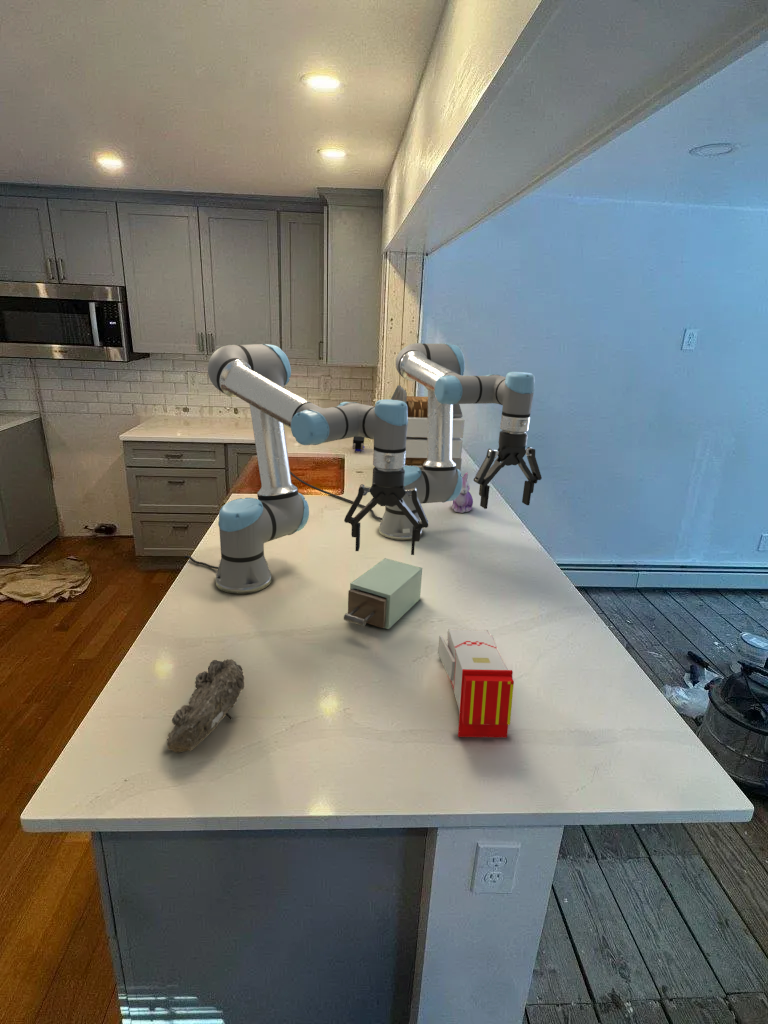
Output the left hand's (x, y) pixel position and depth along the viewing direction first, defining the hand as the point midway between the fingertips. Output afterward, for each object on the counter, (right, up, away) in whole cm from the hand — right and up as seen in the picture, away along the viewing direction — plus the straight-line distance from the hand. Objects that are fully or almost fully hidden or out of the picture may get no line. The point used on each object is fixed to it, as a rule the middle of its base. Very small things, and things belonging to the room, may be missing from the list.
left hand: (385, 551), depth 140 cm
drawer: (-2, -16, +6) cm, 18 cm away
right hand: (+34, +11, +21) cm, 41 cm away
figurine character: (-14, +43, +173) cm, 179 cm away
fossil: (-33, -29, -31) cm, 54 cm away
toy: (+18, -28, -21) cm, 39 cm away
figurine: (+31, +11, +88) cm, 94 cm away
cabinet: (0, -16, +11) cm, 19 cm away
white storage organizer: (+17, +28, +135) cm, 139 cm away
